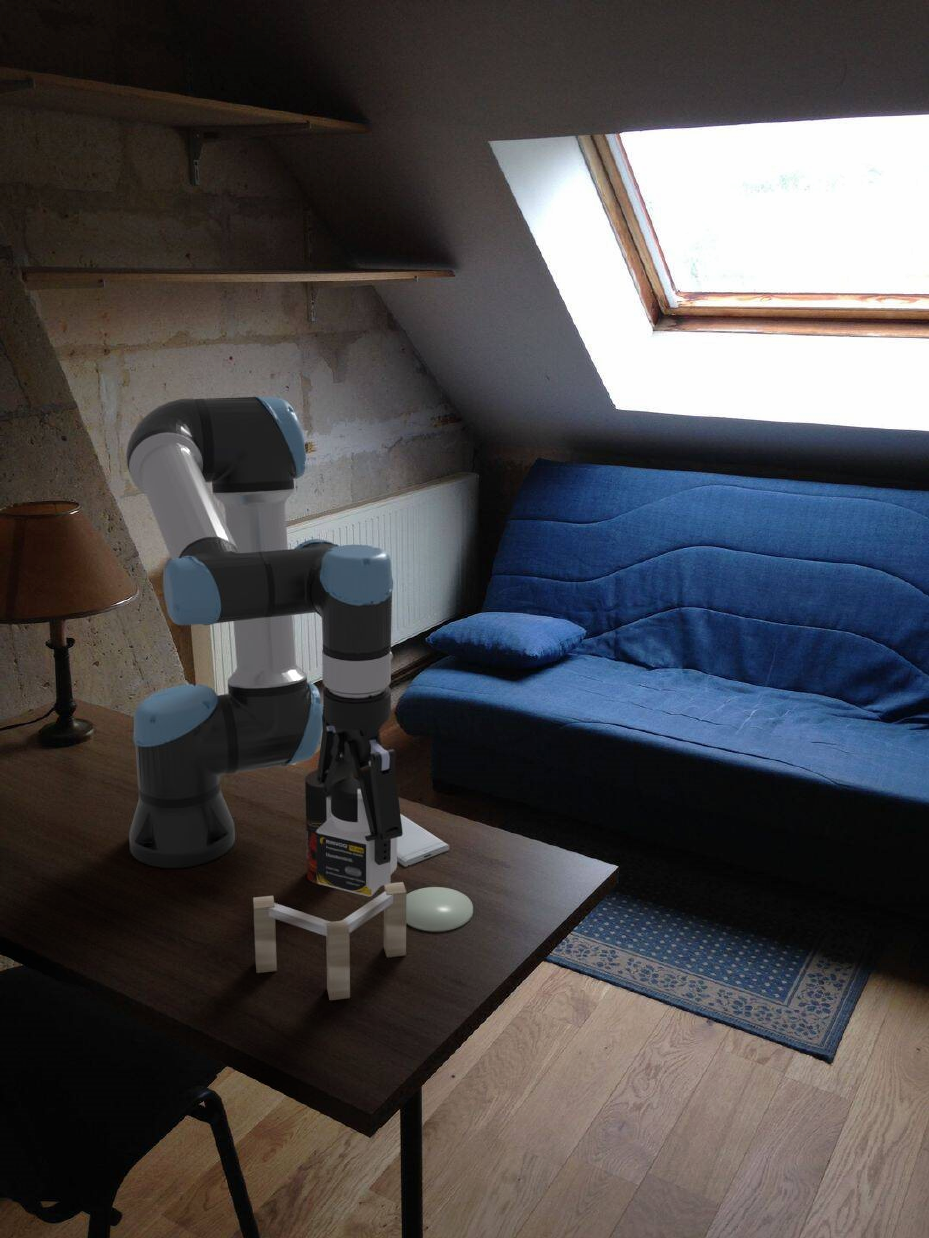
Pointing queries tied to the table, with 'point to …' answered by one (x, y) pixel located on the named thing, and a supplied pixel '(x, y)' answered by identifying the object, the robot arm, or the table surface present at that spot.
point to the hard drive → (417, 843)
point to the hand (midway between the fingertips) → (357, 863)
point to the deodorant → (314, 820)
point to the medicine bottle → (346, 841)
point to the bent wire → (332, 933)
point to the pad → (437, 909)
